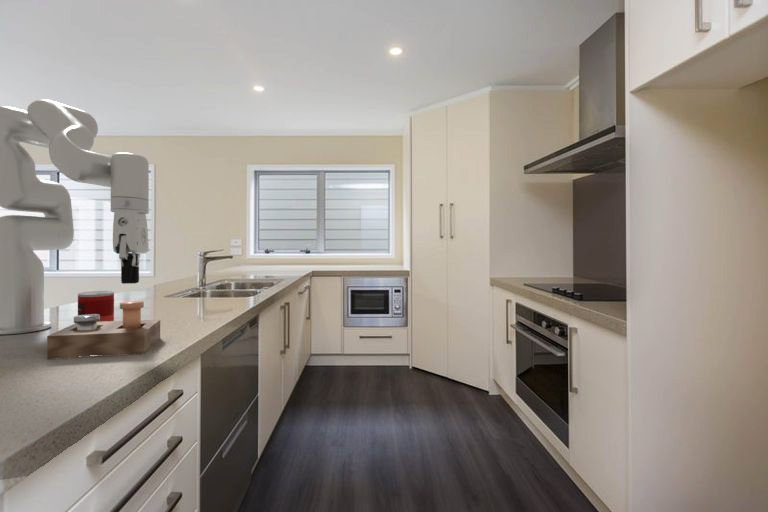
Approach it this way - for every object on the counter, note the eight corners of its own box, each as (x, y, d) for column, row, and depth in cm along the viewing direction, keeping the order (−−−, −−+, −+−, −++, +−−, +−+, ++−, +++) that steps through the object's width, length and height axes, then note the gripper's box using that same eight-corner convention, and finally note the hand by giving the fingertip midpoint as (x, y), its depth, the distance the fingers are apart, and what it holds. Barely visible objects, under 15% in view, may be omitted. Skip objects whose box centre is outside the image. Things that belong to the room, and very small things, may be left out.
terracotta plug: (116, 335, 87) (116, 304, 87) (123, 330, 91) (123, 301, 91) (140, 334, 88) (140, 304, 88) (146, 329, 93) (146, 300, 93)
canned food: (120, 329, 106) (120, 291, 106) (96, 336, 98) (96, 295, 98) (96, 328, 107) (96, 290, 107) (70, 334, 99) (70, 293, 99)
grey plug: (69, 350, 84) (69, 318, 84) (79, 344, 89) (79, 314, 88) (95, 348, 86) (95, 317, 85) (103, 343, 90) (103, 313, 90)
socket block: (47, 359, 79) (47, 336, 79) (77, 342, 92) (77, 322, 92) (144, 353, 85) (144, 331, 85) (160, 338, 98) (160, 319, 98)
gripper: (138, 204, 83) (138, 286, 83) (156, 210, 97) (156, 280, 97) (98, 202, 80) (98, 286, 81) (122, 208, 95) (123, 280, 95)
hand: (130, 282), depth 89 cm, fingers closed
